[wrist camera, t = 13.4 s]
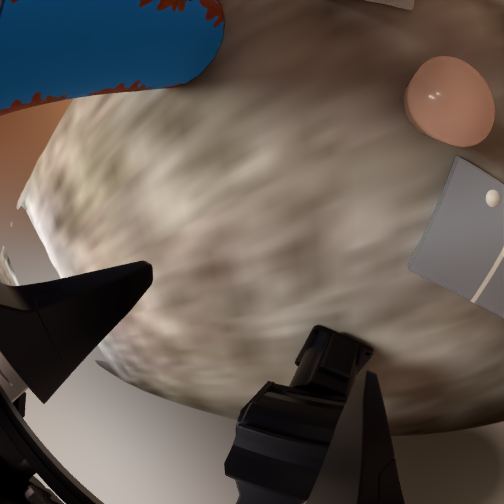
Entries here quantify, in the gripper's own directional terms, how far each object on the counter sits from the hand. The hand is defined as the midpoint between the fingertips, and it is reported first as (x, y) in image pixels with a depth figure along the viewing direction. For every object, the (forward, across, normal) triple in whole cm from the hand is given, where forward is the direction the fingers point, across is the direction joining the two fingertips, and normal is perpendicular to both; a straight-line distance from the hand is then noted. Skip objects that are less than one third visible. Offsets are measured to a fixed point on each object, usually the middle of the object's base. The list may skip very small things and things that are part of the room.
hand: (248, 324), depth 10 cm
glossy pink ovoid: (+13, -5, -10) cm, 17 cm away
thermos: (+13, +16, -12) cm, 24 cm away
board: (+13, -17, -3) cm, 22 cm away
